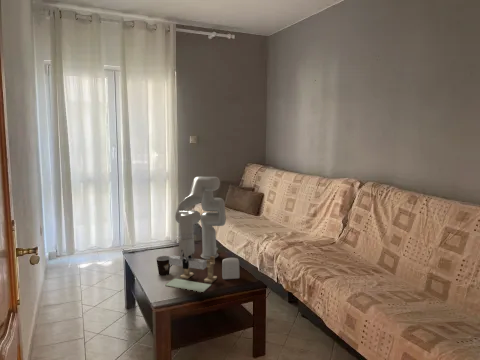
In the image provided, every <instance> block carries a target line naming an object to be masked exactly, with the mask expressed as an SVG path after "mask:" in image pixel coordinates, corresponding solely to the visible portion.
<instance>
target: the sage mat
mask: <svg viewBox="0 0 480 360" xmlns="http://www.w3.org/2000/svg"><path fill="white" fill-rule="evenodd" d="M164 286H165V287H168V286H170V287H169V288H174V287H175V289H179V288H181V289H180V290H185V289H187V290H186V291H190V290H193V291H192V292H196V291H197V293H201V292H203V293H205V292H206V291H207V290H208V289H209V288H211V286H212V283H206V282H204V283H203V282H198V281H192V280H188V279H182V278H173V279H172V280H171V281H169V282H167V283H166V284H165V285H164Z"/></svg>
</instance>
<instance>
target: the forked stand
mask: <svg viewBox="0 0 480 360" xmlns="http://www.w3.org/2000/svg"><path fill="white" fill-rule="evenodd" d="M205 260H207V267H206V268H207V277H205V278H204V279H203V282H204V283H209V284H212V283H214V282H215V281H216V280H217V279H218V276H217V275H214V265H215V264H216V258H215V257H214V256H211V257H210V259H205ZM192 276H194V272H191V270H190V267H188V269H183V273H182V274H181V275H179V277H180V278H179V279H185V280H188V279H189V278H190V277H191V278H192Z"/></svg>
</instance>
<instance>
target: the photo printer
mask: <svg viewBox="0 0 480 360" xmlns="http://www.w3.org/2000/svg"><path fill="white" fill-rule="evenodd" d="M221 268H222V269H221V274H222V276H221V277H222V279H223V280H234V279H235V280H237V279H240V277H241V276H240V261H239V258H237V257H226V258H224V259H222V263H221Z"/></svg>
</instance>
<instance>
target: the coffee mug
mask: <svg viewBox="0 0 480 360" xmlns="http://www.w3.org/2000/svg"><path fill="white" fill-rule="evenodd" d="M169 257H171V256H169V255H160V256H158V257H156V258H155V260H156V266H157V271H158V275H159V276H161V277H163V276H164V277H165V276H166V277H167V276H168V275H170V271H171V270H170V269H171V268H172V266H173V265H170V264H169Z"/></svg>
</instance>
